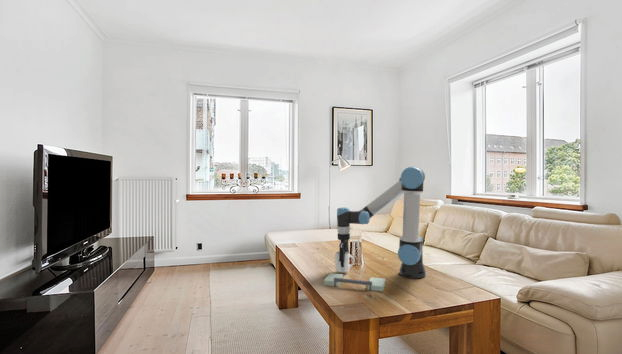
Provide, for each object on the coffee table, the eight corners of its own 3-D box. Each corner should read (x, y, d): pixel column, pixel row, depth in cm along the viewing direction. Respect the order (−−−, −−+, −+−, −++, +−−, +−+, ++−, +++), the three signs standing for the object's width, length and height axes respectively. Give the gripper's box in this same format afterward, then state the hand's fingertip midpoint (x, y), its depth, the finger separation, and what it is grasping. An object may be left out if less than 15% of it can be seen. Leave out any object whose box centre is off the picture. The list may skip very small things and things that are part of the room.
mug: (356, 271, 195) (356, 253, 195) (337, 273, 192) (337, 255, 192) (351, 267, 203) (351, 250, 203) (333, 269, 201) (333, 252, 200)
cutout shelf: (385, 283, 179) (385, 275, 179) (382, 291, 167) (382, 283, 167) (329, 277, 190) (329, 270, 190) (323, 284, 177) (323, 277, 177)
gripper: (341, 229, 208) (342, 264, 208) (333, 236, 188) (334, 274, 188) (353, 230, 206) (354, 265, 206) (345, 236, 185) (346, 275, 186)
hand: (344, 269), depth 197 cm, fingers closed on mug, 9 cm apart
